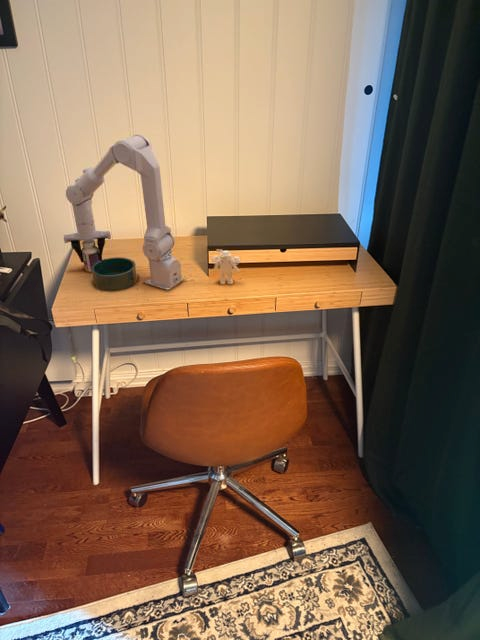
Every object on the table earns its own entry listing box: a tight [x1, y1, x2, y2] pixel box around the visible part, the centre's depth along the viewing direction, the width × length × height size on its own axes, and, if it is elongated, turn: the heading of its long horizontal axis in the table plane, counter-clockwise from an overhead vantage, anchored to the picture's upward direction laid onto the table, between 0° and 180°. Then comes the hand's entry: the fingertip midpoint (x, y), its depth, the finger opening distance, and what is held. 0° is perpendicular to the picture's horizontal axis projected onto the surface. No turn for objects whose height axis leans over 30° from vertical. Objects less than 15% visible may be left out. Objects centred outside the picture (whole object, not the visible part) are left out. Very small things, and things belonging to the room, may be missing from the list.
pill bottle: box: [81, 240, 100, 273], centre depth 157 cm, size 5×5×10 cm
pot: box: [91, 256, 138, 292], centre depth 152 cm, size 14×14×5 cm
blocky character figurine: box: [211, 248, 242, 285], centre depth 148 cm, size 9×4×12 cm, turn 86°
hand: (91, 260), depth 158 cm, fingers closed on pill bottle, 5 cm apart
